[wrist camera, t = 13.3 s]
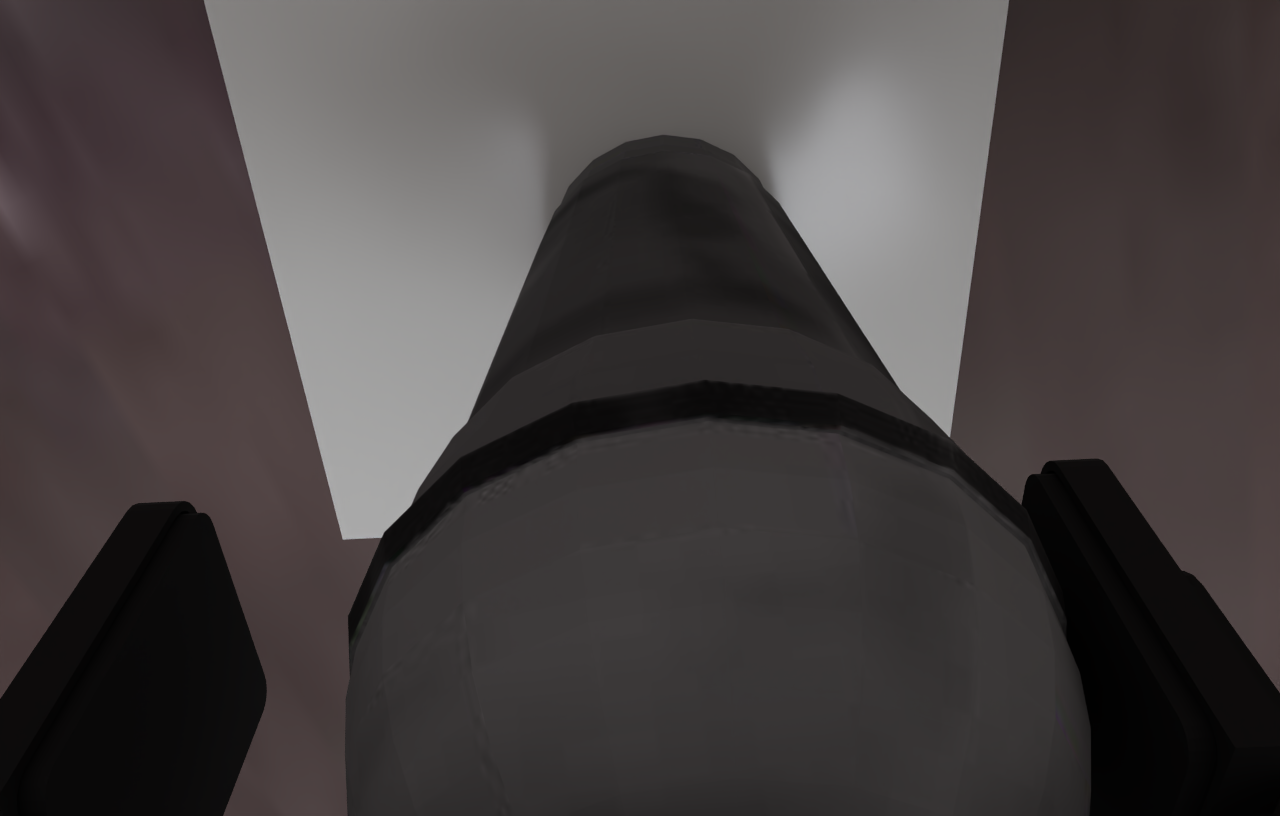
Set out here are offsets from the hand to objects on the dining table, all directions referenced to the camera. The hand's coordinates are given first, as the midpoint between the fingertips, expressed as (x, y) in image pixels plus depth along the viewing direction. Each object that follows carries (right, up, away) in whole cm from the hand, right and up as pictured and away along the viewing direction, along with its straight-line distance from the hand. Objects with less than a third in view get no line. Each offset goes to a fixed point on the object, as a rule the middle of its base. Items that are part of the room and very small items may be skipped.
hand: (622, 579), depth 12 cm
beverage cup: (+1, +5, +9) cm, 10 cm away
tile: (0, +6, +9) cm, 11 cm away
